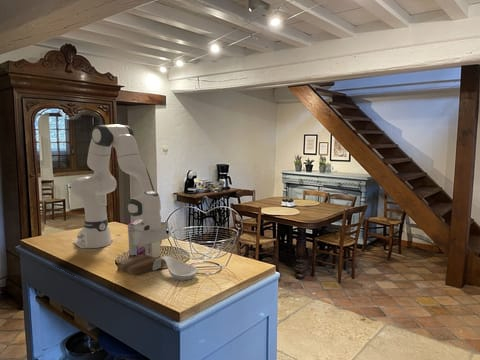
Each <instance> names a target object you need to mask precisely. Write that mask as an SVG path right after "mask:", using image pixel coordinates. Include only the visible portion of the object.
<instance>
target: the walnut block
mask: <svg viewBox="0 0 480 360" xmlns="http://www.w3.org/2000/svg"><path fill="white" fill-rule="evenodd" d="M158 258H159V257H157V258H155V257H151V256H148V255H146V254H144V253H141V254H139V255H137V256H130V257H128V258H125V259H123V260H119V261H117V262H116V263H117V264H116V265H117V270H118V271H121V272H123V273H126V274H129V275H133V276H135V277H139V276H142V275H145V274H147V273H150V272H153V271H154V270H152V268H153V264H154V262H155V261H156V259H158ZM161 266H162V267H163V260H162V261H161Z"/></svg>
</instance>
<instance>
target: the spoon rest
mask: <svg viewBox="0 0 480 360" xmlns="http://www.w3.org/2000/svg"><path fill="white" fill-rule="evenodd" d="M157 258H158V259H156V261H155V262H154V264H153V268H152V270H153V271H157V269H158V270H160V269H161V268H162V267H161V261H162V262H163V261H164V262H165V264H166V267H167V269H168V272H169V274H170V275H171V277H172V278H173V279H175V280H177V281H188V280H191V279H193V278H194V277H196V275H197V274H198V272H199V270H198V268H197V267H195V266H193V265H191V264H189V263H187V262H185V261H184V262H183V261H181V260H178V258H177V259H176V258H174V257H172V256H168V255H164V256H161V257H157ZM159 268H160V269H159Z"/></svg>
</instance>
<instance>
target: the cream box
mask: <svg viewBox="0 0 480 360" xmlns="http://www.w3.org/2000/svg"><path fill="white" fill-rule="evenodd" d="M147 247H148V249H150V252H149V253H146V252H145V255H148V256H151V257H155V258H156V257H157V258H160V257H161V245H160V241H157V242H153V243H150V244H148V246H147ZM159 256H160V257H159Z"/></svg>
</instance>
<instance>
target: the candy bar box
mask: <svg viewBox="0 0 480 360" xmlns="http://www.w3.org/2000/svg"><path fill="white" fill-rule="evenodd" d="M141 221H143V219H140V218H139V219H136V220H134V221H132V222H130V223H128V224H127V232H128V234H127V235H128V236H127V237H128V251H129V253H128V254H129V255H128V256H133V255H140V254H143V253H144V252H146V251H145V248H144V246H140V247H138V246H135V244H134V232H135V231H136V230H135V229H134V226H135V225H137V224H138V223H140V222H141Z"/></svg>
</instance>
